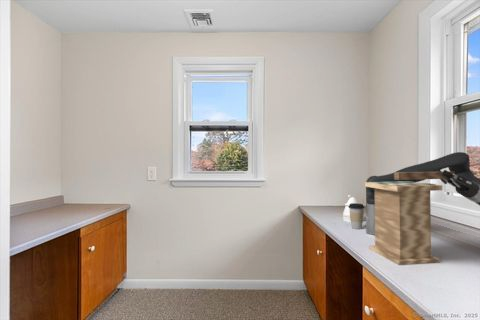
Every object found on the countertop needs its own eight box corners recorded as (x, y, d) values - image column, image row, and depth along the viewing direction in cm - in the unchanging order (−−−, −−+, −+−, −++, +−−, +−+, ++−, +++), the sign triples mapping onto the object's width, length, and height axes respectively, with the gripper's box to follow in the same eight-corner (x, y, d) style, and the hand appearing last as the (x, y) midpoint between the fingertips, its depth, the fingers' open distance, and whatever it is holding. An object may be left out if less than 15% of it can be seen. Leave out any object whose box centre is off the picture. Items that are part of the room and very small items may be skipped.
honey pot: (344, 222, 201) (344, 196, 201) (341, 218, 214) (341, 193, 214) (364, 223, 199) (364, 196, 199) (360, 219, 212) (360, 194, 212)
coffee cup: (364, 227, 187) (363, 203, 187) (365, 230, 178) (365, 205, 178) (348, 226, 190) (348, 202, 190) (348, 229, 181) (348, 205, 181)
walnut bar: (449, 178, 130) (449, 171, 130) (454, 178, 127) (454, 171, 127) (394, 179, 127) (394, 172, 127) (398, 179, 124) (398, 172, 124)
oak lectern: (404, 246, 145) (403, 180, 145) (443, 263, 121) (442, 184, 121) (365, 248, 143) (365, 181, 143) (398, 265, 119) (397, 185, 119)
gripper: (461, 182, 137) (431, 163, 135) (490, 184, 123) (457, 164, 121) (454, 196, 136) (424, 178, 135) (482, 200, 122) (449, 180, 121)
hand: (440, 171), depth 128 cm, fingers closed on walnut bar, 3 cm apart
